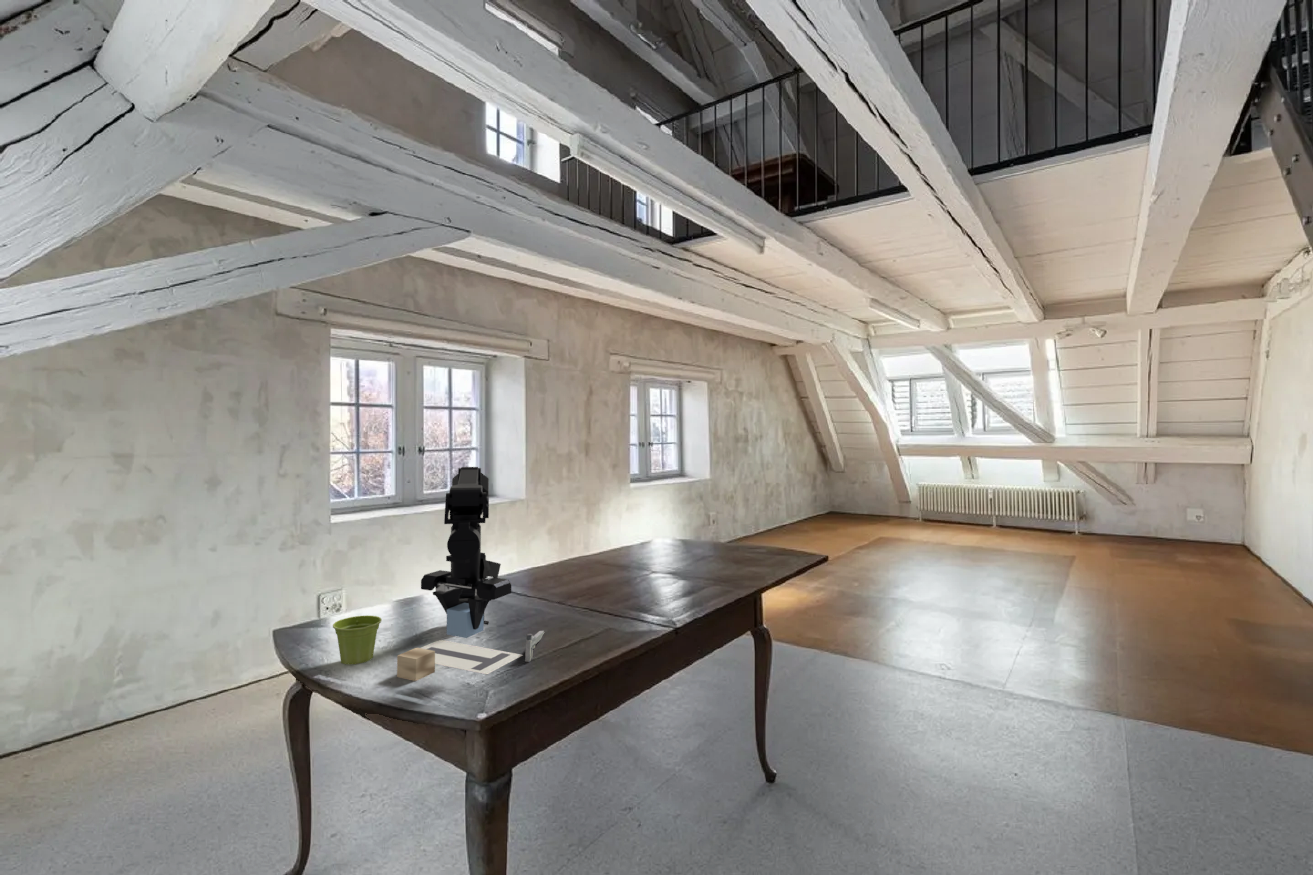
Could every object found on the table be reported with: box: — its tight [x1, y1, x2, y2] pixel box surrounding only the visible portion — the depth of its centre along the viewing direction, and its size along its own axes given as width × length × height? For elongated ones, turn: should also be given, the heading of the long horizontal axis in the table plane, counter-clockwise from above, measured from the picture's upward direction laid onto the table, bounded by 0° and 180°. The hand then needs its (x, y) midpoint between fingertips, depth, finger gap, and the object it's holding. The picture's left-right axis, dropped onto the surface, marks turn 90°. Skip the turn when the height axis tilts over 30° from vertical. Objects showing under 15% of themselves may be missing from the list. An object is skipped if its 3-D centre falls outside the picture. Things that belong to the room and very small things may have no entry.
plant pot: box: [332, 614, 383, 665], centre depth 128 cm, size 9×9×9 cm
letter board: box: [420, 639, 523, 675], centre depth 130 cm, size 12×24×1 cm, turn 66°
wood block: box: [396, 647, 436, 682], centre depth 120 cm, size 5×5×5 cm
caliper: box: [524, 630, 545, 663], centre depth 137 cm, size 20×1×6 cm, turn 2°
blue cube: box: [446, 603, 485, 639], centre depth 119 cm, size 5×5×5 cm
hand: (465, 627), depth 119 cm, fingers closed on blue cube, 5 cm apart
